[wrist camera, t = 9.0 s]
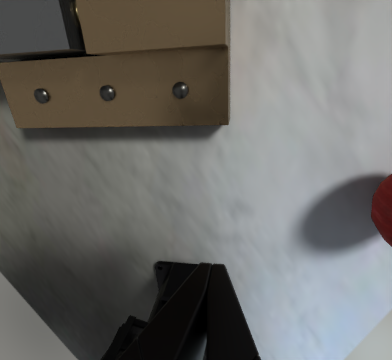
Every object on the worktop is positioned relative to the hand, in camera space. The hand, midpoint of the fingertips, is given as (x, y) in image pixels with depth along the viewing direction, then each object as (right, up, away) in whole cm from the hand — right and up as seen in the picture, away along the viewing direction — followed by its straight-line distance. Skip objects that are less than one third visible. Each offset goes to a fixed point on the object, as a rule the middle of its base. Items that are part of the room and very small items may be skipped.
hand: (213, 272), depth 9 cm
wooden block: (-6, +12, +9) cm, 16 cm away
